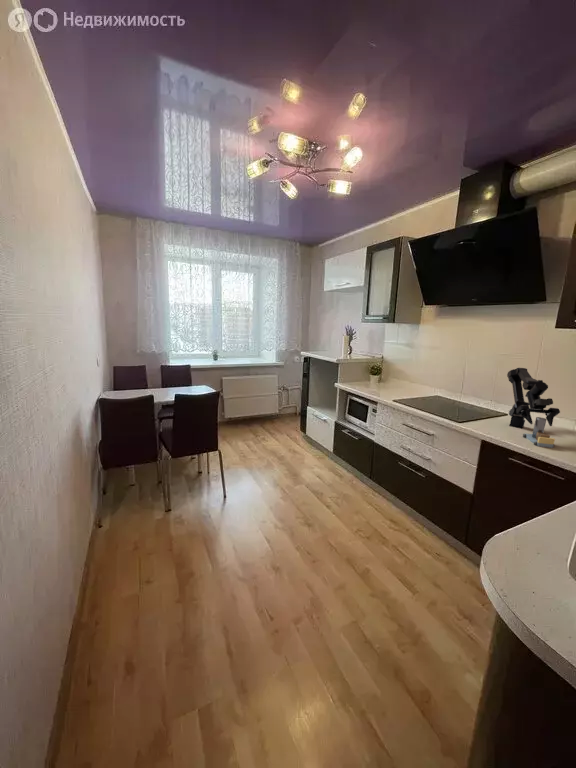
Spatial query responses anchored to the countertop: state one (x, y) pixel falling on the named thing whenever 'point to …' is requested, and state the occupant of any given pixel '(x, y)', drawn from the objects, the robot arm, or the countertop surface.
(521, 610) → the countertop surface
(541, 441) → the cart
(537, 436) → the collected block
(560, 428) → the countertop surface
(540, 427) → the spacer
